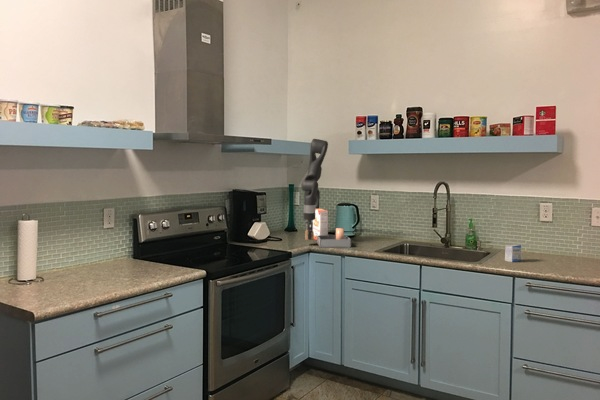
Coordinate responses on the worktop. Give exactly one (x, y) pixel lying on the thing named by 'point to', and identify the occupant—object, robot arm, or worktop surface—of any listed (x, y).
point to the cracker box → (320, 223)
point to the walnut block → (307, 235)
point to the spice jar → (339, 233)
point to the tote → (333, 242)
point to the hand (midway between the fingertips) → (309, 238)
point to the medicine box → (513, 253)
